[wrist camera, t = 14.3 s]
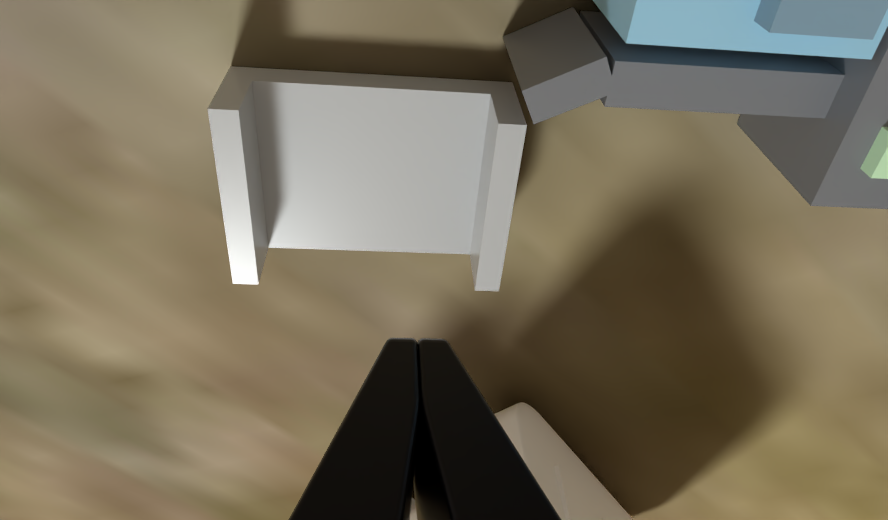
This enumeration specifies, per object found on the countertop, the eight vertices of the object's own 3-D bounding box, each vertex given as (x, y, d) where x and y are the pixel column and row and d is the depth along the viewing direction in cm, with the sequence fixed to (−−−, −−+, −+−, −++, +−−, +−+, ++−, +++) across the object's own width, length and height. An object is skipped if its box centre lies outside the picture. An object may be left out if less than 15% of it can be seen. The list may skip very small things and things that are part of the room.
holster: (512, 82, 21) (526, 125, 18) (489, 238, 24) (498, 291, 22) (230, 66, 20) (207, 108, 18) (249, 230, 24) (233, 283, 21)
